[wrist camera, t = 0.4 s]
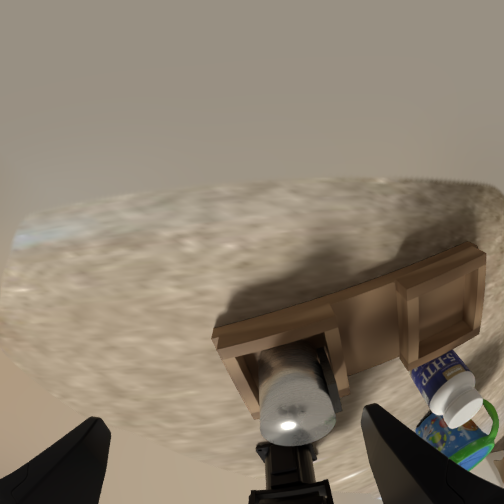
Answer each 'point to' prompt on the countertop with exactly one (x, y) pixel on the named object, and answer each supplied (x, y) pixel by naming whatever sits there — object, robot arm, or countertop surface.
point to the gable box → (491, 468)
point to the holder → (368, 321)
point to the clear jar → (296, 394)
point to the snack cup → (460, 438)
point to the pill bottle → (448, 388)
